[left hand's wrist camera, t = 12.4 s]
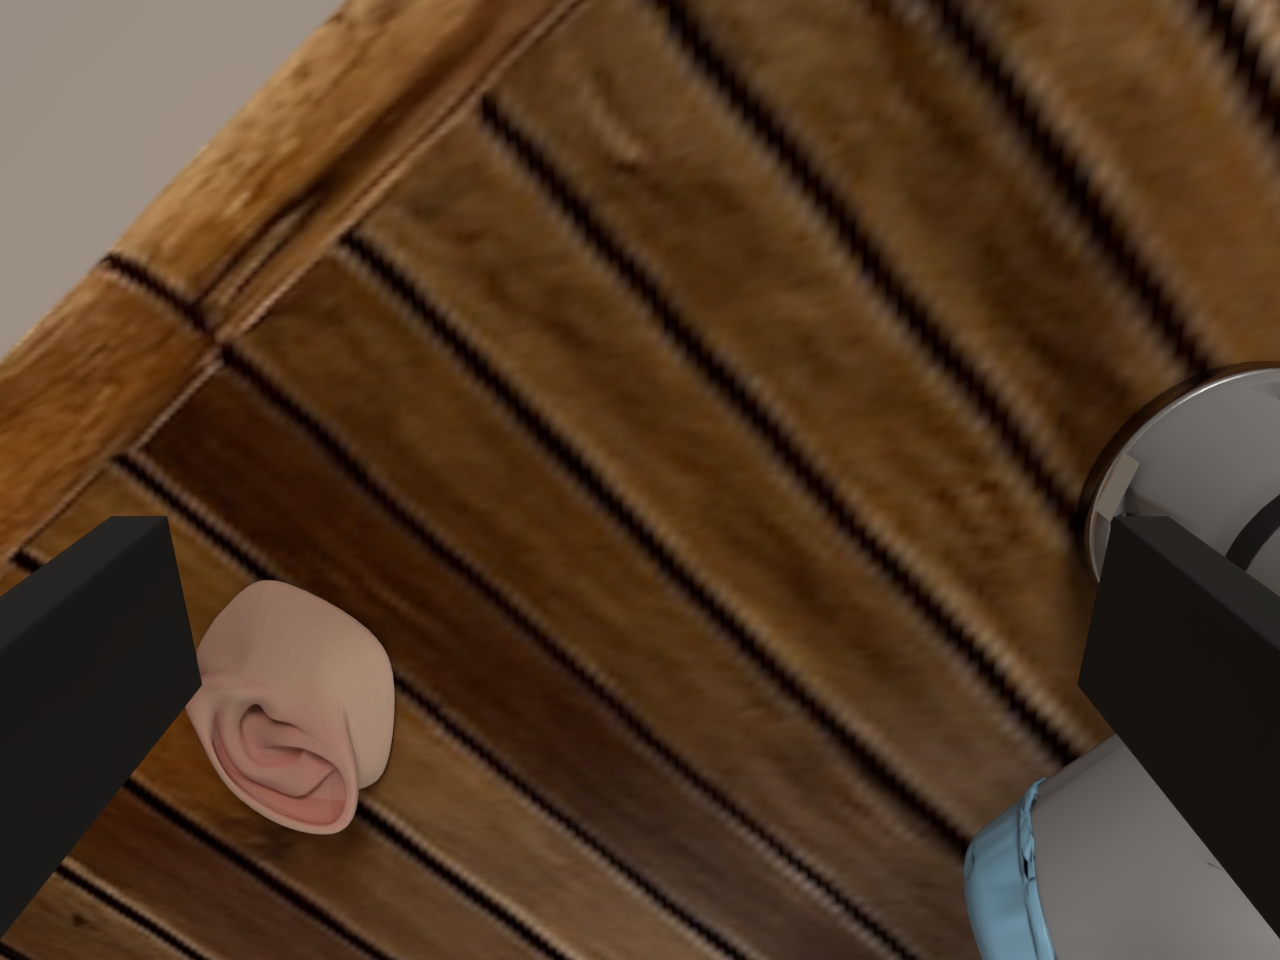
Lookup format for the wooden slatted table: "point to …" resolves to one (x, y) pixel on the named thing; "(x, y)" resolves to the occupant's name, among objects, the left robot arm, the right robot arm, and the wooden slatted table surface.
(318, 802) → the anatomical model
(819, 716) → the wooden slatted table surface
